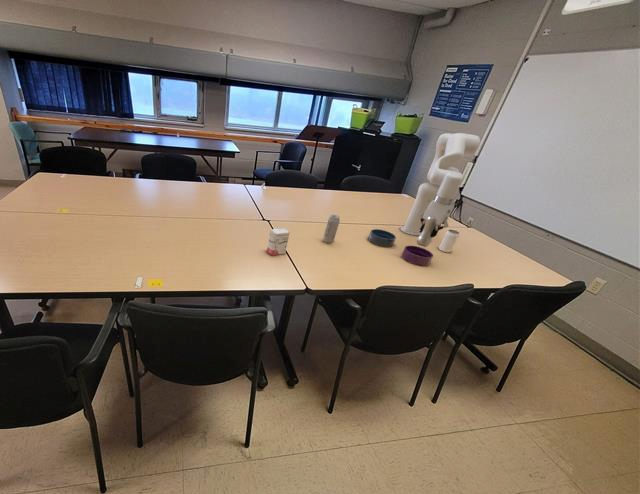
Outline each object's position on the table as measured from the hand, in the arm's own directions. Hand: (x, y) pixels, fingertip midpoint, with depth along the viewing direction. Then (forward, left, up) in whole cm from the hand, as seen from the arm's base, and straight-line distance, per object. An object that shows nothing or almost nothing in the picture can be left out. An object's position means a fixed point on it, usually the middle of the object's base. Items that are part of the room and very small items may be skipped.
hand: (427, 234), depth 163 cm
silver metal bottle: (0, 0, -7) cm, 7 cm away
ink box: (+71, -33, -15) cm, 80 cm away
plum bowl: (0, 0, -15) cm, 15 cm away
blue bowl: (0, -23, -15) cm, 28 cm away
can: (-32, -1, -15) cm, 35 cm away
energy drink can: (+33, -34, -15) cm, 50 cm away
